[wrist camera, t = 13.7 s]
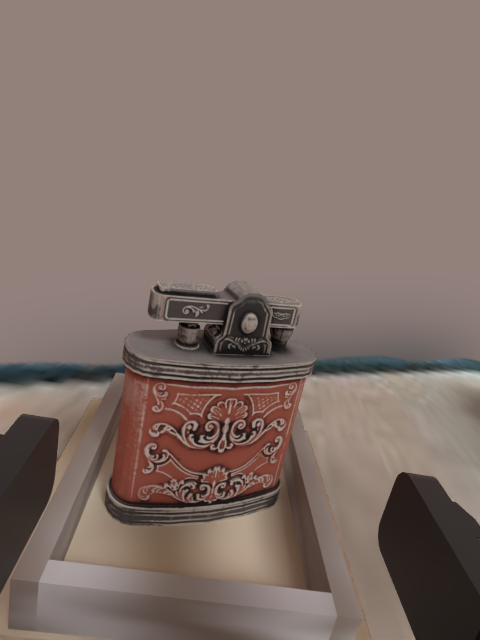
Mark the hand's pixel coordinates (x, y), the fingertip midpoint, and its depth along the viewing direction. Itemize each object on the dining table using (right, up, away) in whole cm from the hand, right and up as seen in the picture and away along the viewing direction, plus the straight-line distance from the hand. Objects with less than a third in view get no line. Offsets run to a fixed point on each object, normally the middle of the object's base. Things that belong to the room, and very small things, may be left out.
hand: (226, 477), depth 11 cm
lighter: (-2, -5, +10) cm, 11 cm away
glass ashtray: (-2, -5, +10) cm, 12 cm away
